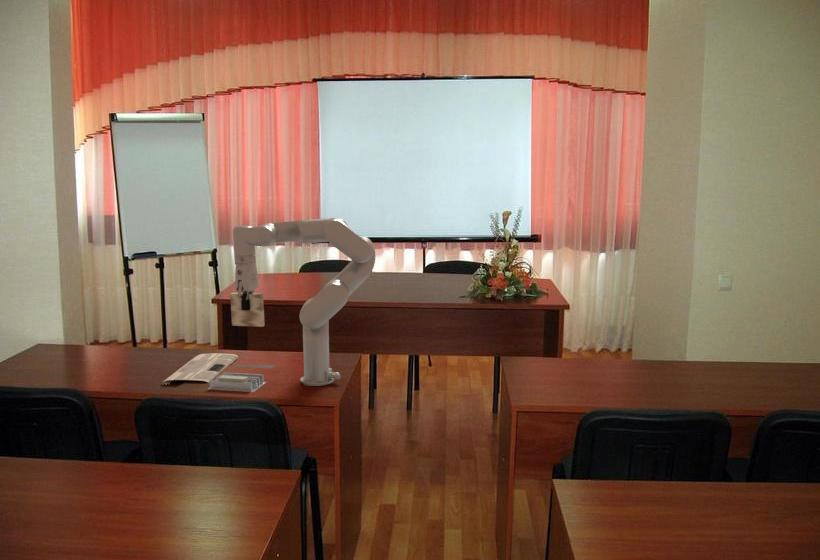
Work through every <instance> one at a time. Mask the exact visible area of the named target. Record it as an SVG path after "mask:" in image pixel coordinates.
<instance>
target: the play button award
mask: <svg viewBox="0 0 820 560" xmlns="http://www.w3.org/2000/svg"><path fill="white" fill-rule="evenodd" d="M233 367H239V368H241V367H242V368H254V369H255V368H256V369H257V368H258V369H273V368H274V369H275V364H236V363H235V364H233ZM274 369H273V370H274Z"/></svg>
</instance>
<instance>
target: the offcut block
mask: <svg viewBox="0 0 820 560" xmlns="http://www.w3.org/2000/svg"><path fill="white" fill-rule="evenodd" d="M221 375H222V374H221ZM219 381H233V382H248V377H243V376H226V375H222V376H220V377H219Z"/></svg>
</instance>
